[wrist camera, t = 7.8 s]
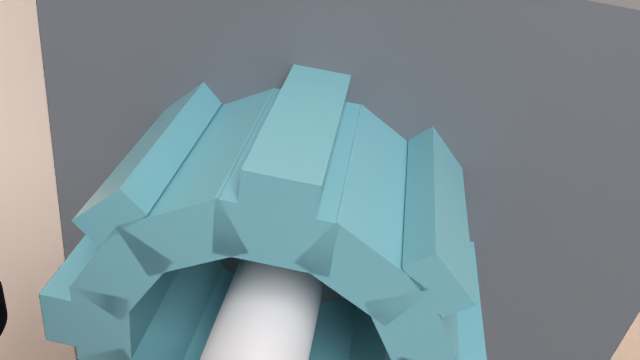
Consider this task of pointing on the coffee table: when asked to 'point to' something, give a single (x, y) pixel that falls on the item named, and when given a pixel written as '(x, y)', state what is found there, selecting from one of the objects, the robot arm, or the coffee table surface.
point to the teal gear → (274, 230)
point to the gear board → (408, 121)
